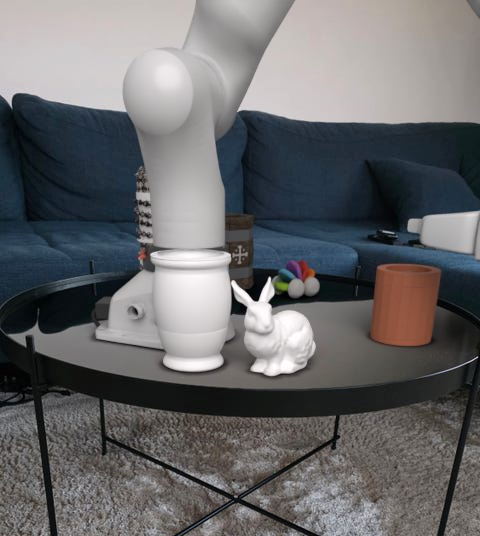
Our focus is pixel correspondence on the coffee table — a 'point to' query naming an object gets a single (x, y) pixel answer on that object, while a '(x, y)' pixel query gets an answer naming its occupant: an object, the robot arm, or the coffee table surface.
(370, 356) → the coffee table surface
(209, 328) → the jar
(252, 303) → the rabbit
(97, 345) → the coffee table surface
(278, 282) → the rainbow wheeled toy
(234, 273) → the mug
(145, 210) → the decorative candle
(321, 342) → the coffee table surface
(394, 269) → the terracotta jar
